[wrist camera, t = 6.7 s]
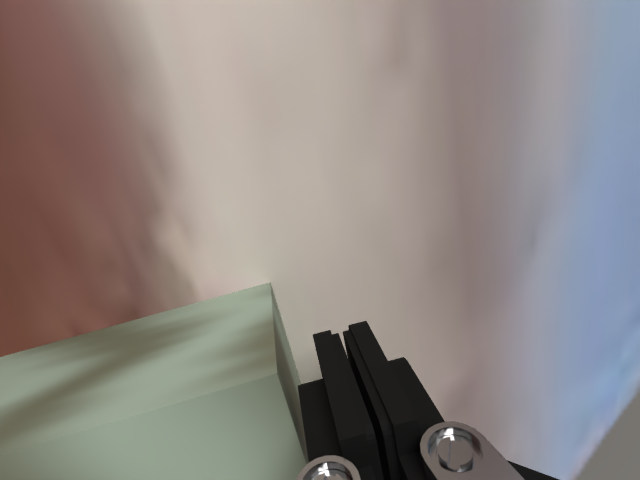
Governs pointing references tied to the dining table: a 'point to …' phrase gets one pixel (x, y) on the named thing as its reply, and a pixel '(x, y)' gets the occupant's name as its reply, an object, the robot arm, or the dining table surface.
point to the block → (159, 399)
